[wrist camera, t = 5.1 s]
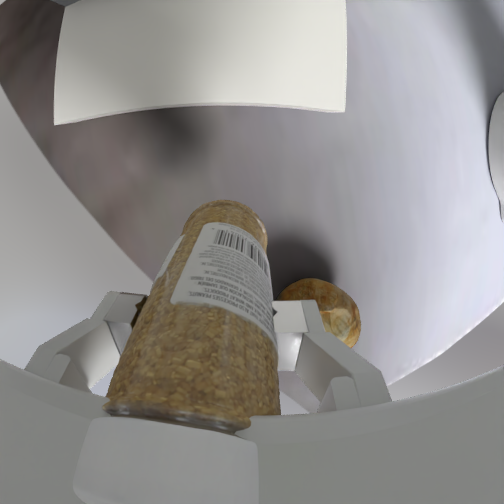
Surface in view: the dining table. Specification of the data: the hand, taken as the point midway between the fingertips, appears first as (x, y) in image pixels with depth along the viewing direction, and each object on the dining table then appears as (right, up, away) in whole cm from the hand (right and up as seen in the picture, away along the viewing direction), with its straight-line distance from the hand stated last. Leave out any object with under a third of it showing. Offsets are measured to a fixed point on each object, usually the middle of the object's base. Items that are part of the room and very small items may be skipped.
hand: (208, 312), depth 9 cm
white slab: (-3, +17, +5) cm, 18 cm away
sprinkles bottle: (0, +3, +6) cm, 6 cm away
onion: (+7, -2, +16) cm, 18 cm away
